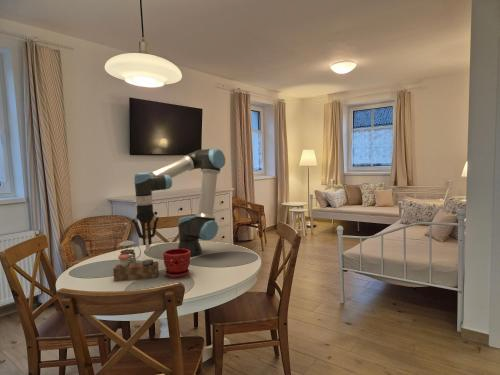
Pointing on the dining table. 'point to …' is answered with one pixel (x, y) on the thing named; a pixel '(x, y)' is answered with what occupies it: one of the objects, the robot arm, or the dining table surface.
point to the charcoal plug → (147, 262)
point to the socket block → (135, 271)
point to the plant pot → (177, 262)
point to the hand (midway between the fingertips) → (148, 251)
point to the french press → (129, 243)
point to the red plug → (124, 259)
